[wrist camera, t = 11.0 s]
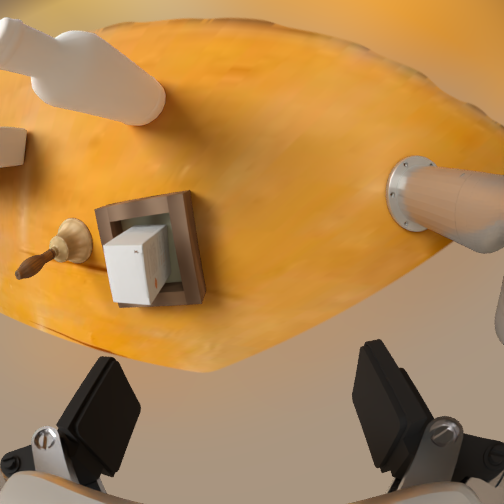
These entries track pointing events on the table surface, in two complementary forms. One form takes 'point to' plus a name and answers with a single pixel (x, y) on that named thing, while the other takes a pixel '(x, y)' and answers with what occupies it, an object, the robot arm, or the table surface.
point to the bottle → (81, 73)
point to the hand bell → (61, 248)
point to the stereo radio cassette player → (12, 146)
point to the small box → (138, 263)
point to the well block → (179, 240)
